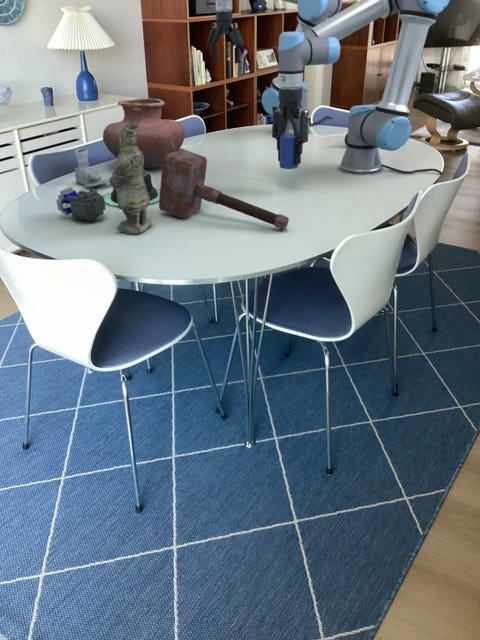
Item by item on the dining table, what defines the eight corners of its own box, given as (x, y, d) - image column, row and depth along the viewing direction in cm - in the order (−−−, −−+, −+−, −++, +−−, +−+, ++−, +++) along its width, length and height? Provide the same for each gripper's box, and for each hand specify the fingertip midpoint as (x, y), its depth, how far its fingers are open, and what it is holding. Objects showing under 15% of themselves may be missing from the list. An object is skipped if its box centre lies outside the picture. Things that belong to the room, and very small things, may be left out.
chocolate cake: (91, 202, 180) (113, 186, 197) (142, 231, 182) (160, 212, 199) (107, 162, 172) (129, 148, 190) (160, 192, 174) (177, 176, 192)
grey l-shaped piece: (86, 146, 202) (111, 153, 193) (91, 178, 208) (115, 186, 199) (65, 151, 196) (90, 158, 187) (70, 183, 202) (95, 192, 193)
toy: (69, 184, 172) (107, 190, 166) (73, 210, 176) (111, 217, 170) (49, 192, 165) (88, 198, 160) (54, 219, 170) (93, 226, 164)
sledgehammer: (299, 190, 156) (179, 147, 167) (285, 200, 148) (161, 154, 160) (286, 244, 166) (174, 200, 177) (272, 256, 158) (156, 209, 170)
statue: (131, 220, 168) (117, 116, 152) (158, 224, 164) (147, 118, 149) (109, 233, 159) (93, 124, 144) (138, 237, 156) (124, 126, 140)
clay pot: (194, 158, 230) (190, 94, 217) (174, 179, 204) (168, 107, 192) (124, 156, 235) (116, 93, 222) (96, 176, 209) (85, 106, 197)
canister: (278, 168, 183) (278, 137, 178) (281, 163, 188) (281, 133, 183) (296, 169, 182) (297, 138, 177) (299, 164, 187) (300, 134, 182)
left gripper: (197, 11, 255) (200, 62, 265) (241, 11, 242) (242, 64, 252) (208, 10, 260) (210, 60, 271) (251, 10, 247) (251, 62, 257)
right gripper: (260, 86, 177) (260, 159, 188) (306, 92, 164) (303, 169, 176) (276, 83, 181) (275, 155, 193) (322, 88, 169) (318, 164, 181)
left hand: (225, 62), depth 261 cm, fingers open, 13 cm apart
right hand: (289, 162), depth 184 cm, fingers closed on canister, 6 cm apart
